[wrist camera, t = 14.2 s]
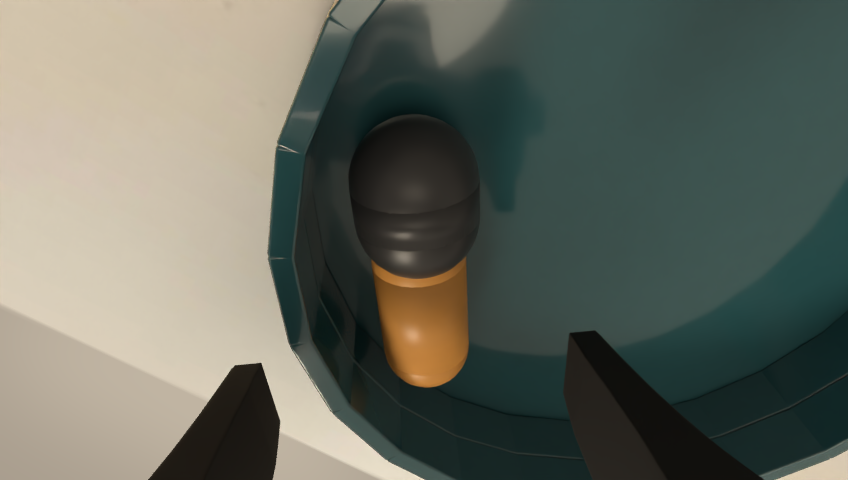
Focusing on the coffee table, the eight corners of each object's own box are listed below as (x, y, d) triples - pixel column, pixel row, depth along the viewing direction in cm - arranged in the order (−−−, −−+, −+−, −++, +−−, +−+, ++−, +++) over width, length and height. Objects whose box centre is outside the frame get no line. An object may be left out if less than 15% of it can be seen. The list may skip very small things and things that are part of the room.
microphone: (330, 107, 13) (349, 156, 11) (454, 89, 14) (500, 131, 11) (372, 357, 18) (392, 434, 15) (463, 335, 18) (497, 406, 16)
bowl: (581, 479, 24) (614, 574, 20) (157, 229, 16) (96, 318, 12) (1087, 162, 17) (1267, 229, 13) (787, -606, 8) (1056, -944, 5)
